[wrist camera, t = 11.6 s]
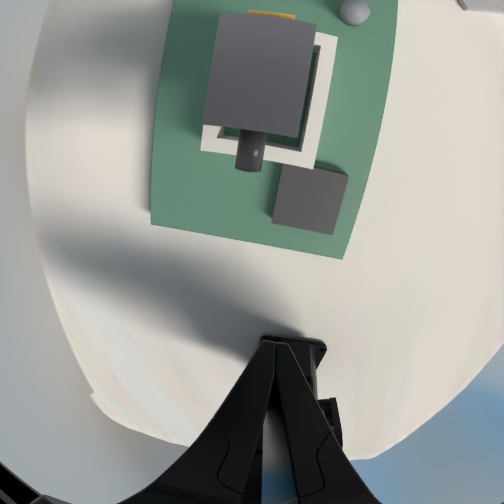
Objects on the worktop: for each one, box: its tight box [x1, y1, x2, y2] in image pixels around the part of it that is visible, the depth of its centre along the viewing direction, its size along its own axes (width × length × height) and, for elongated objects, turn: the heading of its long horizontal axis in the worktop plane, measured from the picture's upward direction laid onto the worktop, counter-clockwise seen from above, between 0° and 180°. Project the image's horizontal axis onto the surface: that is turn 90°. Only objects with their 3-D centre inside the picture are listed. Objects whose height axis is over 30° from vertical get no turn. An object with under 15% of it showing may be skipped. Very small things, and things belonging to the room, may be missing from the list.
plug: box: [203, 10, 317, 172], centre depth 11 cm, size 6×3×8 cm, turn 172°
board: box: [151, 0, 398, 259], centre depth 13 cm, size 20×14×3 cm
